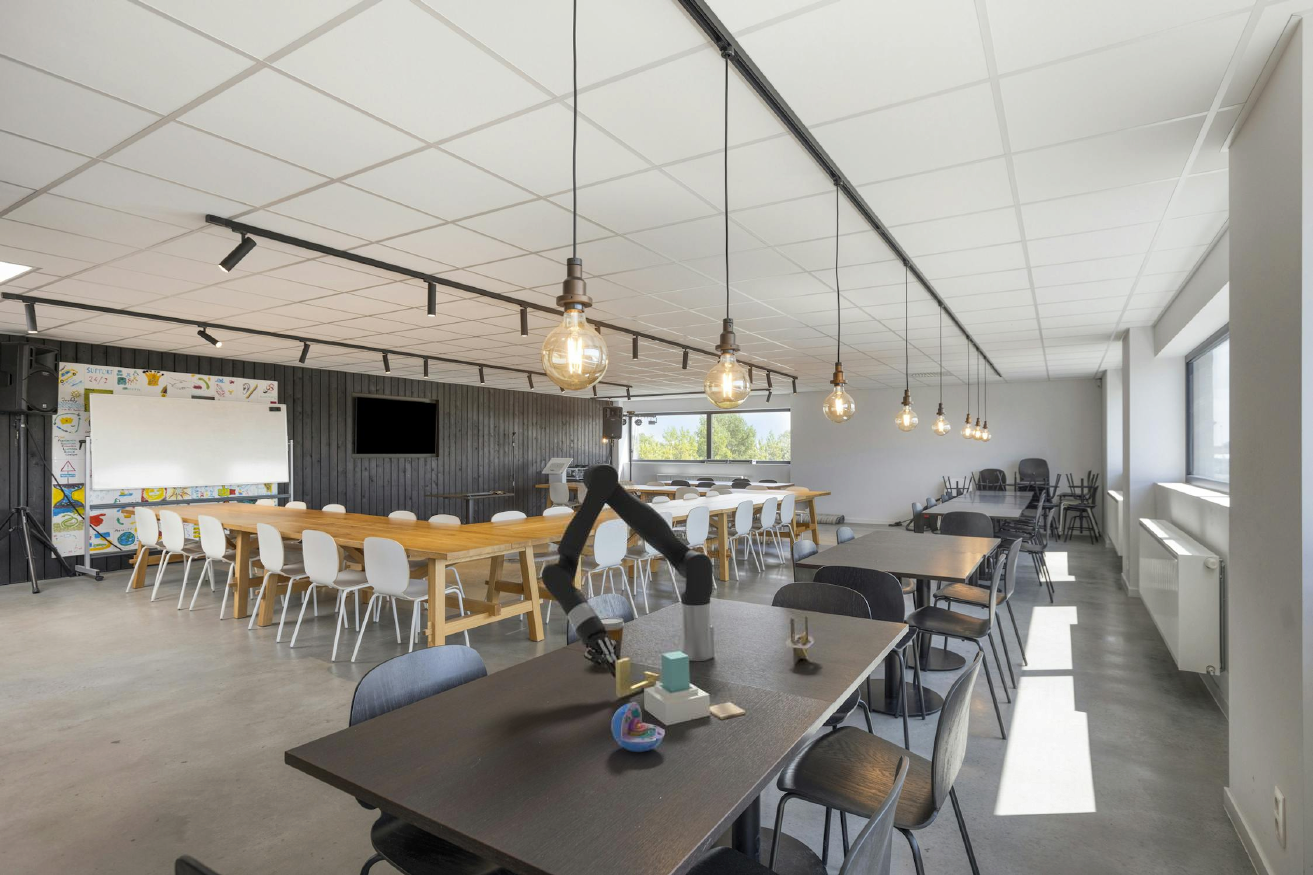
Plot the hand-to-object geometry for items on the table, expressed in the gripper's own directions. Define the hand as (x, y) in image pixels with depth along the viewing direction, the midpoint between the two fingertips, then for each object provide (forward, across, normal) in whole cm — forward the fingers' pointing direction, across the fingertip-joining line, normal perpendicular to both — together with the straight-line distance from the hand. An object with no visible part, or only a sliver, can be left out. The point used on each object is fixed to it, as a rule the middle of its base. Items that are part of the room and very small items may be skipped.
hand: (619, 676), depth 172 cm
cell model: (+21, -21, -14) cm, 33 cm away
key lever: (+5, +5, +2) cm, 7 cm away
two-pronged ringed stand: (+22, +54, -15) cm, 60 cm away
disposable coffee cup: (-14, +23, +22) cm, 35 cm away
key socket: (+5, +11, +2) cm, 12 cm away
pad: (+24, +7, -17) cm, 30 cm away
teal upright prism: (+14, 0, -13) cm, 19 cm away
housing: (+17, 0, -10) cm, 20 cm away
